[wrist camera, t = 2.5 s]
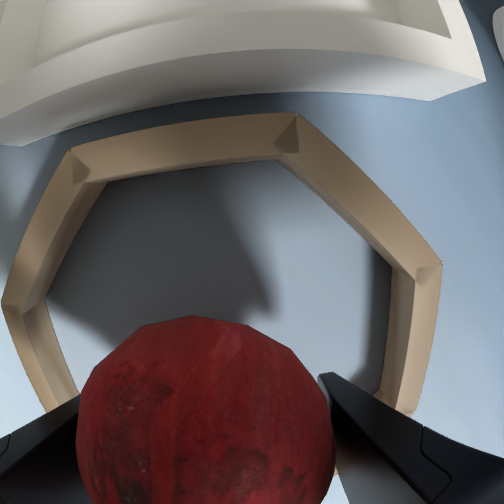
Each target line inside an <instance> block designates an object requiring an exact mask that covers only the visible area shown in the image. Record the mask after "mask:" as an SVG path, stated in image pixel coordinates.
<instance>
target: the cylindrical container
mask: <svg viewBox="0 0 504 504" xmlns="http://www.w3.org/2000/svg"><path fill="white" fill-rule="evenodd" d="M492 22H493V31H494V35H495V39H496V42H497V45H498V49H499V52H500V54H501V57H502V59H503V62H504V6H503V7H501V8H499V9H497V10H496V11H495V12H494V14H493V19H492Z"/></svg>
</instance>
